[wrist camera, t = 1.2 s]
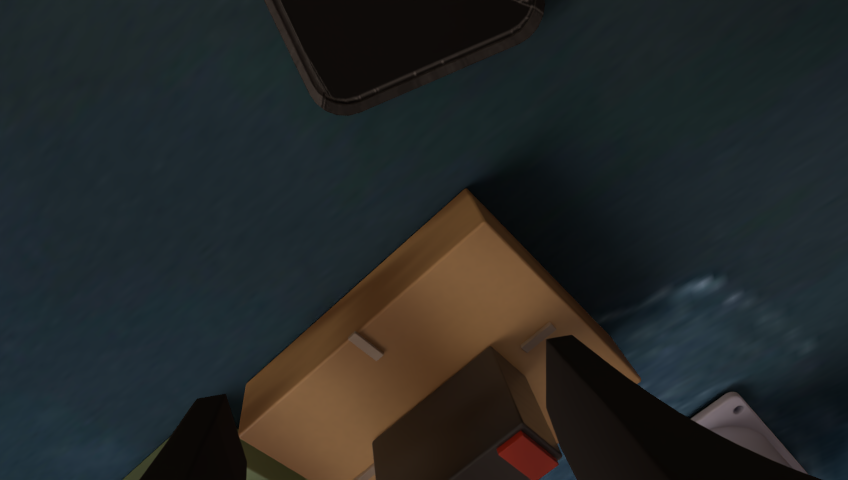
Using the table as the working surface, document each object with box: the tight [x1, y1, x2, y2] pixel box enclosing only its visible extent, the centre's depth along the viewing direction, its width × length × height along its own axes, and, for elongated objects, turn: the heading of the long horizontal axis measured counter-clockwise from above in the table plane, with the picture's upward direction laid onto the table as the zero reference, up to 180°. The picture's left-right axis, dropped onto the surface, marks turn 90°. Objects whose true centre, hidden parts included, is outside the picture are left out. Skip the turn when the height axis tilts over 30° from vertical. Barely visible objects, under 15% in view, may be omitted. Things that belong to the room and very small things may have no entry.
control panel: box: [238, 189, 641, 480], centre depth 24 cm, size 12×10×3 cm
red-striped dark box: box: [372, 346, 562, 480], centre depth 21 cm, size 6×2×4 cm, turn 132°
